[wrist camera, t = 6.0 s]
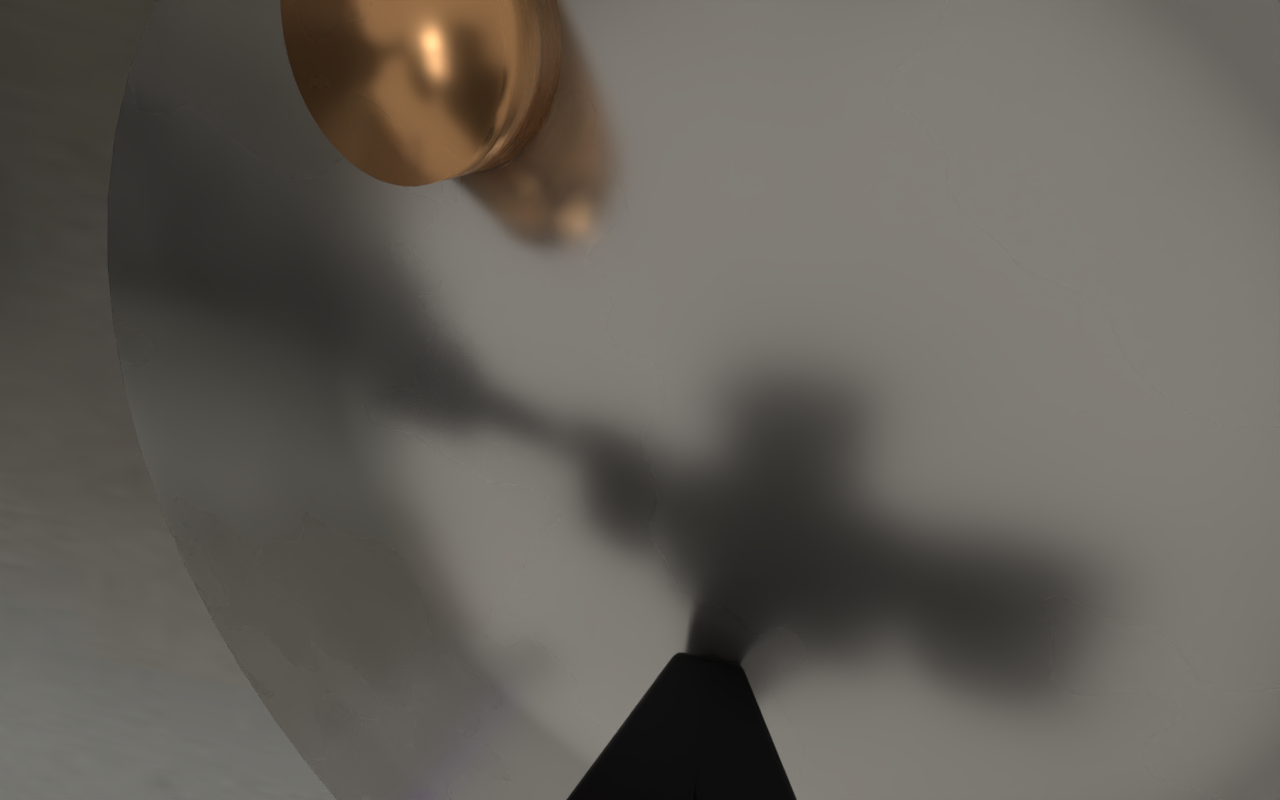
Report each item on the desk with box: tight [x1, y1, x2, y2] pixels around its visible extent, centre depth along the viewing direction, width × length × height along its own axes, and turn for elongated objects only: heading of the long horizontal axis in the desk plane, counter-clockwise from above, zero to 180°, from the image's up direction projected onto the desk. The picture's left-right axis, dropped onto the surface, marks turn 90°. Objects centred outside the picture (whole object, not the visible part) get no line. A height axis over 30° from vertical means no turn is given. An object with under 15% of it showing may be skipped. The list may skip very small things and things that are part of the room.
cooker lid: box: [108, 0, 1280, 800], centre depth 9 cm, size 17×15×2 cm
